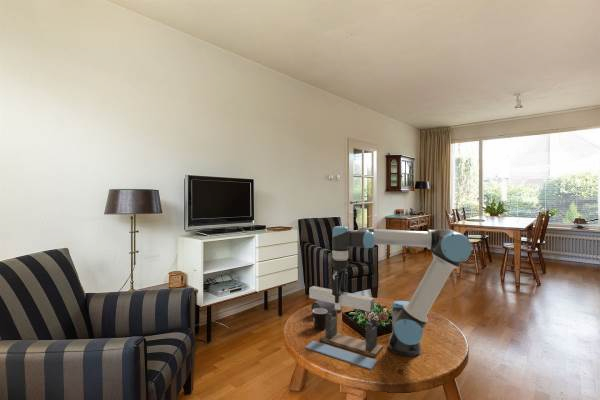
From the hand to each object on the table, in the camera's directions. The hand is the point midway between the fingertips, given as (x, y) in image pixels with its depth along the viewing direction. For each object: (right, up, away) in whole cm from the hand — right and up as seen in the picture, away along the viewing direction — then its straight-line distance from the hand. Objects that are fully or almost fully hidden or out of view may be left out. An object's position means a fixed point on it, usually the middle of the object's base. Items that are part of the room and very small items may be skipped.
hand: (339, 307), depth 147 cm
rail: (0, +2, 0) cm, 2 cm away
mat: (0, -22, 0) cm, 22 cm away
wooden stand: (+7, -22, +10) cm, 25 cm away
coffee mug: (-7, -22, +30) cm, 38 cm away
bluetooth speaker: (-1, -22, +52) cm, 57 cm away
